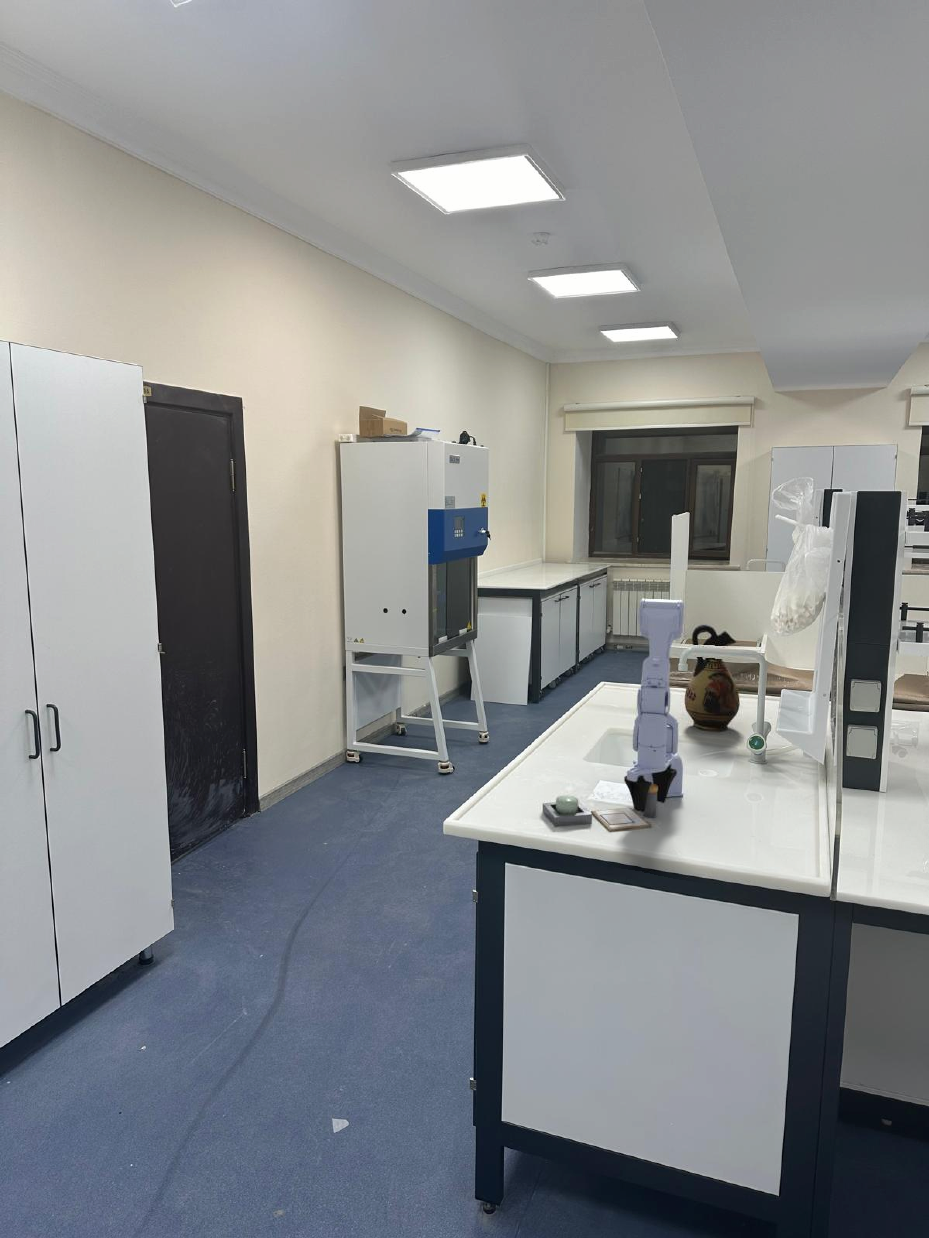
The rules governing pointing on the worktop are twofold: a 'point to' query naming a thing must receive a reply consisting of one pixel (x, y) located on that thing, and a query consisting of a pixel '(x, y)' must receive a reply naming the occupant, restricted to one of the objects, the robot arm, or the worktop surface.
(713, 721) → the ceramic jug
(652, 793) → the marker
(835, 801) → the worktop surface
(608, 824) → the wooden framed board
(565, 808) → the button
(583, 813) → the button housing
